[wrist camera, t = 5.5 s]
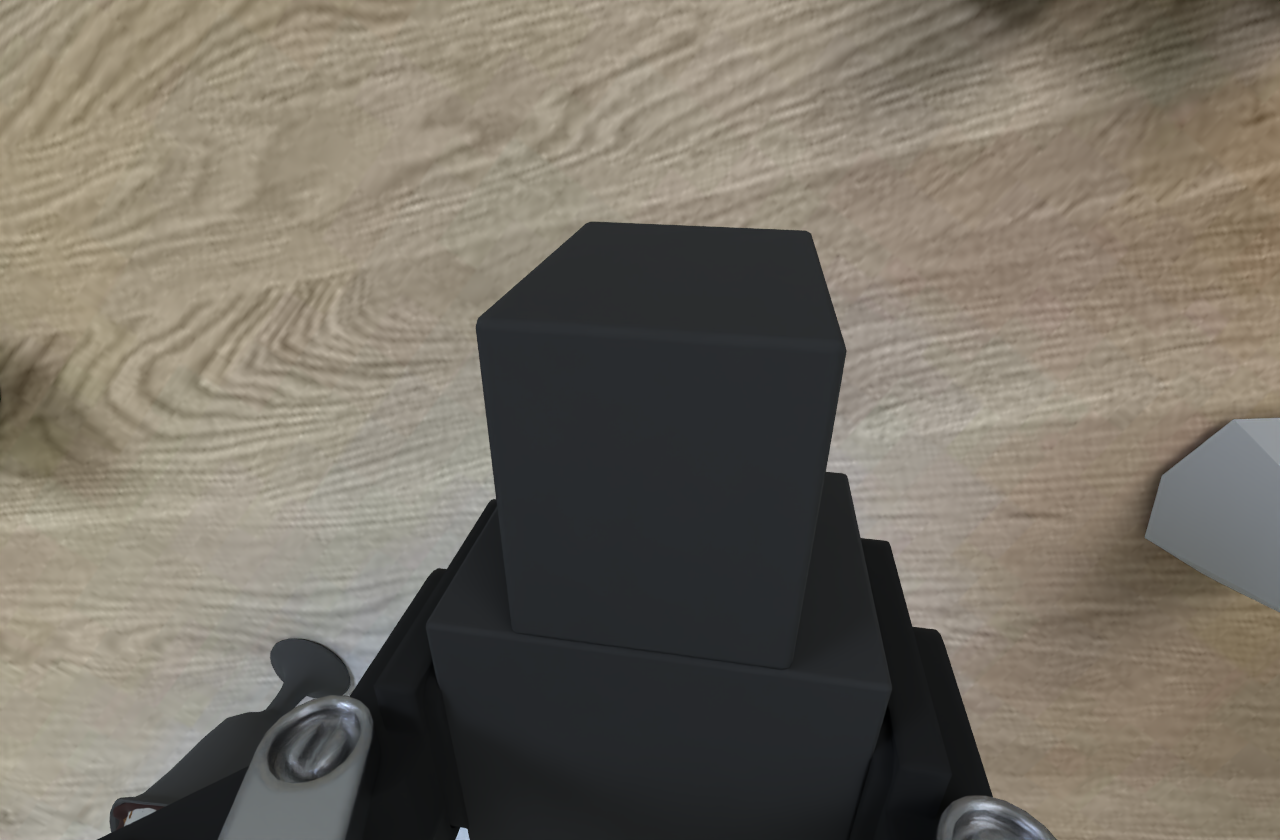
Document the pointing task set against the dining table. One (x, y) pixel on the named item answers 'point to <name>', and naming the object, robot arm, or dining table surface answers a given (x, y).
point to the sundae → (241, 730)
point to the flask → (1226, 509)
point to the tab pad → (663, 552)
